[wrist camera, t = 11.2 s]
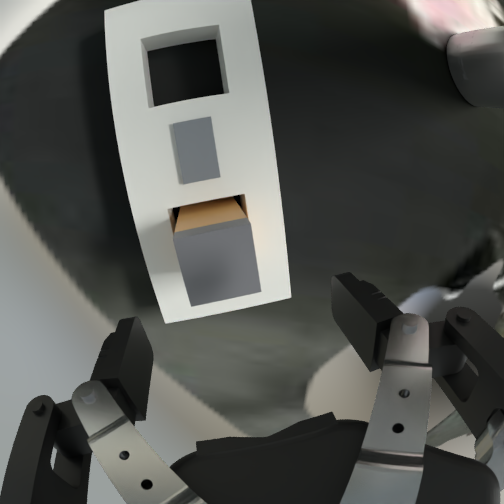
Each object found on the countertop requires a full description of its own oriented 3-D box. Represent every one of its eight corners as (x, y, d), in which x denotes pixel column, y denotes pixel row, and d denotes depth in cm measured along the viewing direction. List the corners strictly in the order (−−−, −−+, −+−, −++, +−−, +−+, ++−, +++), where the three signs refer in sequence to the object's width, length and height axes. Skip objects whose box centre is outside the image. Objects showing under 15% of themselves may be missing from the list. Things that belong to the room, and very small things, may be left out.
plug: (232, 195, 22) (251, 223, 15) (240, 244, 24) (261, 291, 16) (180, 206, 22) (172, 239, 14) (191, 254, 23) (191, 306, 16)
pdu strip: (241, 2, 16) (248, -17, 13) (280, 280, 25) (292, 299, 22) (114, 24, 15) (103, 9, 12) (167, 303, 24) (165, 325, 21)
